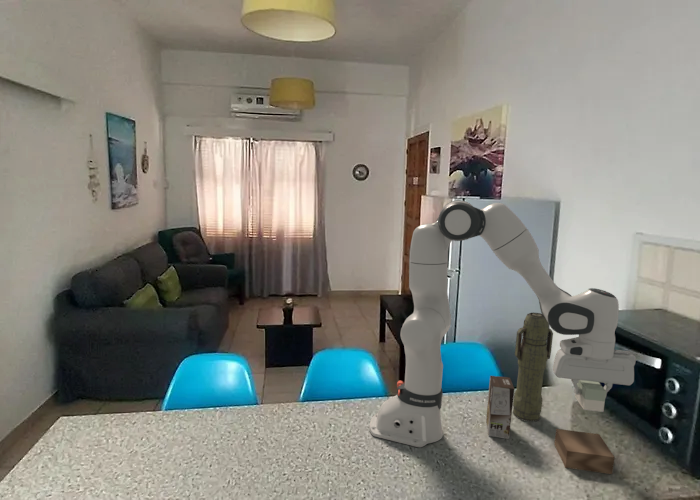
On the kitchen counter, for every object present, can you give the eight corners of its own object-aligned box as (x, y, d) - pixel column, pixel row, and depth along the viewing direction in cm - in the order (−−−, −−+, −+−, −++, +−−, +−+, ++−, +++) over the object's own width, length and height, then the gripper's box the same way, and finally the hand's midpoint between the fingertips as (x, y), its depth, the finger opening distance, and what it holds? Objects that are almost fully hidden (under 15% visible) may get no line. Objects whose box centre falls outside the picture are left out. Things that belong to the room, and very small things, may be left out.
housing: (575, 396, 135) (577, 377, 134) (593, 398, 134) (596, 379, 134) (583, 409, 127) (586, 388, 127) (603, 411, 127) (606, 390, 126)
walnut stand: (565, 467, 128) (567, 450, 128) (554, 444, 140) (556, 428, 139) (612, 474, 126) (614, 457, 126) (597, 449, 138) (599, 434, 137)
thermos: (503, 410, 160) (512, 311, 155) (533, 407, 163) (543, 310, 158) (518, 423, 152) (529, 318, 147) (549, 420, 155) (561, 318, 150)
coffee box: (509, 439, 142) (515, 389, 139) (487, 436, 143) (492, 386, 141) (506, 424, 151) (510, 377, 148) (485, 421, 152) (489, 374, 150)
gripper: (631, 347, 130) (625, 394, 132) (554, 340, 133) (549, 386, 135) (641, 355, 124) (634, 405, 126) (560, 347, 127) (554, 395, 129)
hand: (589, 395), depth 131 cm, fingers closed on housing, 5 cm apart
